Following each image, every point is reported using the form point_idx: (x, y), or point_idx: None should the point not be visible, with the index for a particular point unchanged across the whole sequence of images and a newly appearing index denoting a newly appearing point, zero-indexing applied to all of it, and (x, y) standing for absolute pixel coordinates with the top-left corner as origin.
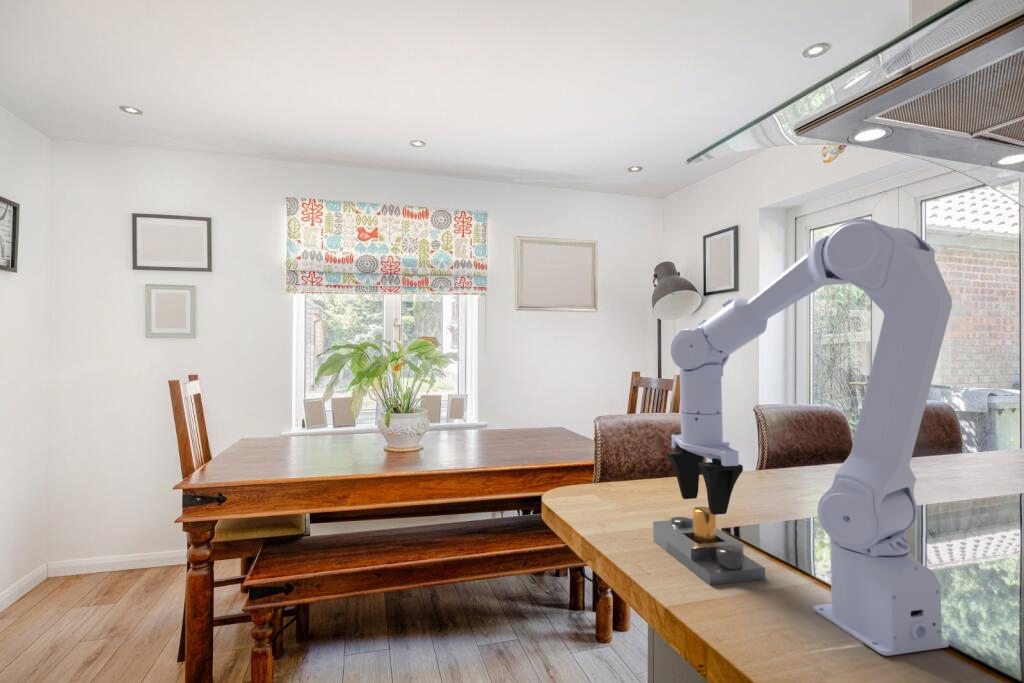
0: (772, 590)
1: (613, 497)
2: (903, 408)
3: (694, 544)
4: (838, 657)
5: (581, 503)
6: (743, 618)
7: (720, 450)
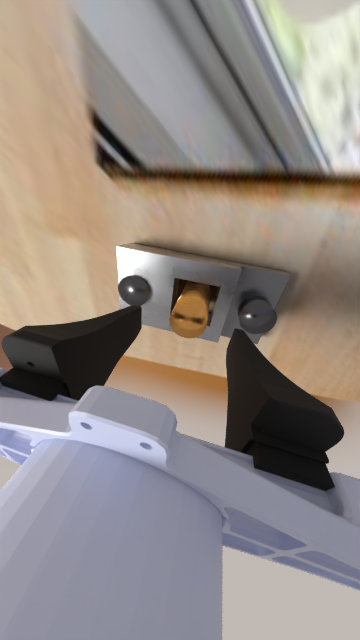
0: (307, 284)
1: None
2: None
3: (208, 330)
4: None
5: (7, 302)
6: (319, 354)
7: (326, 577)
